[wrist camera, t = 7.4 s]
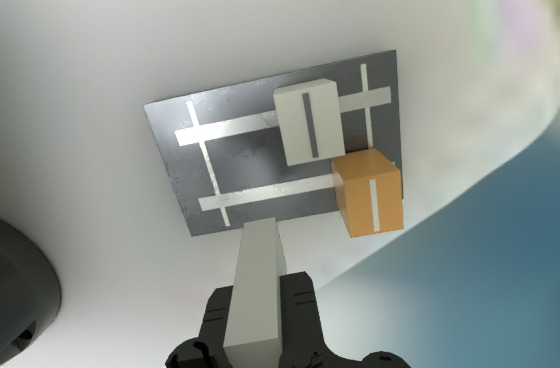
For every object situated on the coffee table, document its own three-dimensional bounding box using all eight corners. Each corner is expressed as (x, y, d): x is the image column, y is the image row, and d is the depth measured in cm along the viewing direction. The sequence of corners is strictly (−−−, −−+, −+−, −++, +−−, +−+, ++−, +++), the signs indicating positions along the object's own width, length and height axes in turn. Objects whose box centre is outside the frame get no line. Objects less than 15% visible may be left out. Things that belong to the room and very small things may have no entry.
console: (197, 226, 24) (191, 237, 22) (152, 102, 20) (142, 105, 18) (395, 190, 22) (403, 199, 21) (387, 50, 19) (396, 49, 17)
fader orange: (337, 204, 21) (351, 238, 17) (330, 156, 19) (343, 181, 15) (379, 196, 21) (404, 229, 16) (375, 148, 19) (401, 170, 15)
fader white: (286, 144, 19) (287, 166, 15) (275, 88, 18) (273, 95, 14) (331, 135, 19) (345, 155, 15) (323, 78, 18) (336, 82, 13)
